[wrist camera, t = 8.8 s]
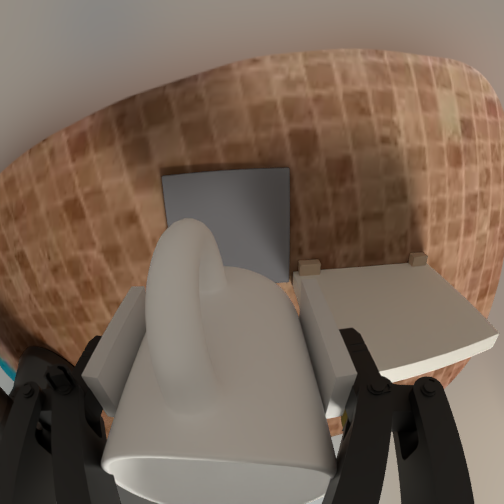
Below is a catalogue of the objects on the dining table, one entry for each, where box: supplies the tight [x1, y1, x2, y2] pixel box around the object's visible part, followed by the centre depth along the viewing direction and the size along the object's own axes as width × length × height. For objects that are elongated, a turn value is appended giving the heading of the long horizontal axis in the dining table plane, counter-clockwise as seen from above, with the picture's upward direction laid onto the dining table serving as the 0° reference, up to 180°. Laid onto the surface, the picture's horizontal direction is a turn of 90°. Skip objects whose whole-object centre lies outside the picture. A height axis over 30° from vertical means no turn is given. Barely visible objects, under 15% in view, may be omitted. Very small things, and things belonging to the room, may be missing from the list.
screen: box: [293, 252, 499, 382], centre depth 22 cm, size 16×4×14 cm, turn 92°
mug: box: [101, 218, 337, 504], centre depth 10 cm, size 12×8×10 cm
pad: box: [162, 167, 290, 283], centre depth 25 cm, size 11×11×1 cm
